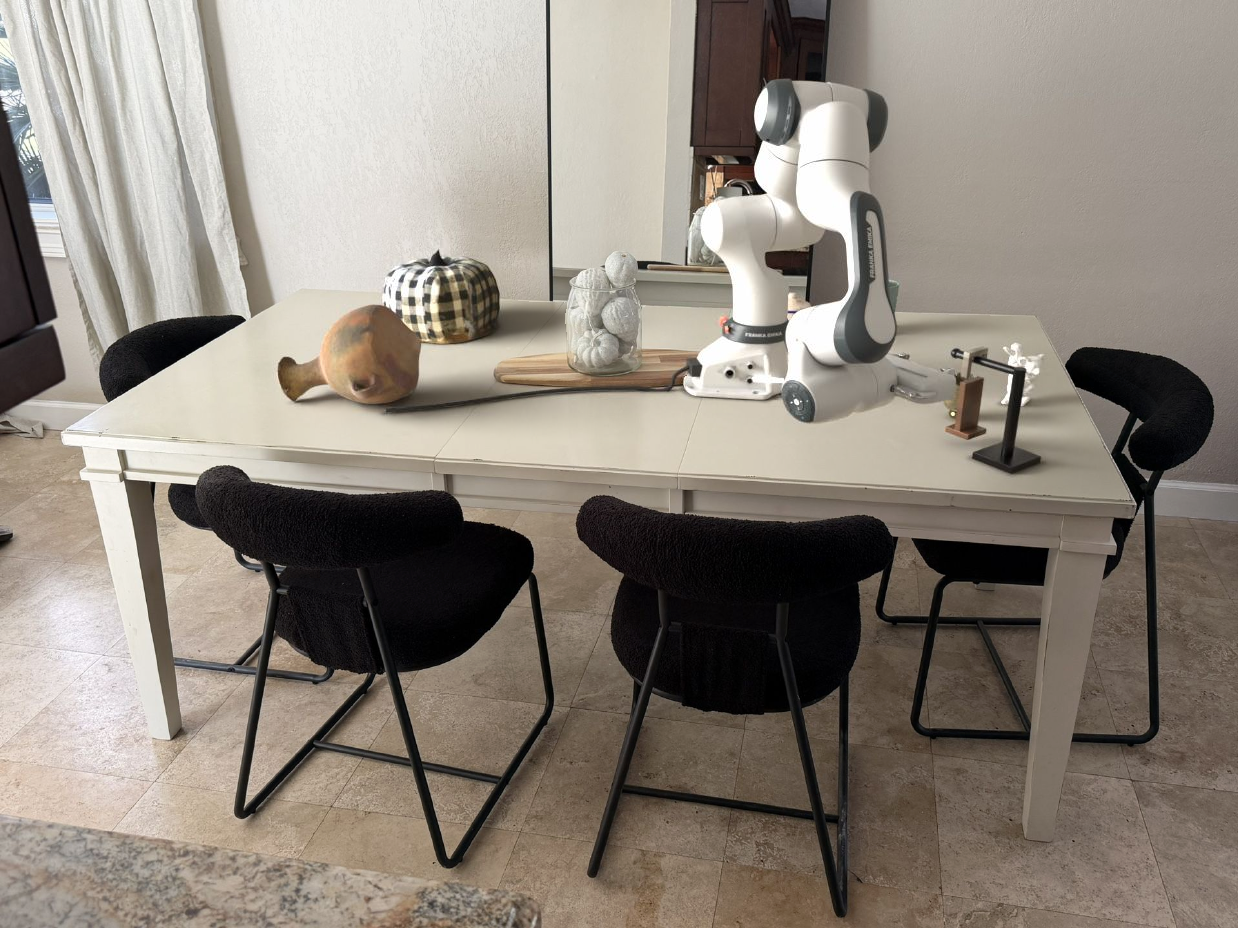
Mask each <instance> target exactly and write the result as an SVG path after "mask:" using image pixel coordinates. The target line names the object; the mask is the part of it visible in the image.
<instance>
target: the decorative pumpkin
mask: <svg viewBox="0 0 1238 928" xmlns="http://www.w3.org/2000/svg"><path fill="white" fill-rule="evenodd" d="M500 294H501V293H500V290H499V286H498V283H497V280H496V277H495V275H494V273H493V271H492V270H491V269H490V267H489V266H488V265H487V264H485V263H483V262H481V261H478V260H476V259H474V258H471V257H468V256H457V257H456V256H455V257H451V256H446V255H441V252H440V248H438V249H437V250H436V251H435V253H433V254H432V255H431V257H427V258H417V259H412V260H410V261H407V262H406V263H402V264H400V265H396V266H394V267H393V268H392V269H391V270H390V271H389V272H388V274H387V276H386V277H385V280H384V284H383V286H382V299H381V303H382V306H386V307H388V308H390V309H391V310H392V311H394V312H395V313H396V314H397V315H398V316H399V318H400V319H401V320H402V322H403V323H404V324H405V325H407V326H408V327H409V328H410V329H411V330H412V331H413V332H415V333H416V334H417V335H418V336H419V338H420V340H421V343H427V344H428V343H429V344H443V345H447V344H459V343H465V342H468V341H472V340H477V339H480V338H483V337H486V336H488V335H491V333H493V332H494V331H495V330H496V329H497V321H498V318H499V315H500V311H501V304H500V303H501V301H500V300H501V299H500V298H501V295H500Z"/></svg>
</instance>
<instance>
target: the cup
mask: <svg viewBox="0 0 1238 928" xmlns="http://www.w3.org/2000/svg"><path fill="white" fill-rule="evenodd" d="M954 376H955V378H956V389H955V394H954V397H953V398H952V399H949V400H946V401H942V402H943V405H944V406H945V408H946V409H948V416H949V417H950V418H951V419H952V420H956V413H957V405H958V397H959V389H960V382H962V381H965V380H969V379H972V378H975V377H978V376H979V374H977V375H976V376H975V377H974V375H973V373H971V374H970V377H969V378H965V377H961V372H960V371H959V372H957V373H955V374H954Z"/></svg>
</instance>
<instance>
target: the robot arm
mask: <svg viewBox="0 0 1238 928" xmlns="http://www.w3.org/2000/svg"><path fill="white" fill-rule="evenodd" d="M754 107H755V108H754V114H753V115H754V124H755V125H754V127H755V132H756V134H757V136H758V137H759V138H760V140H761V141H762V142H761V145H760V148H759V151H758V154H757V157H756V160H755V163H754V178H755V180H756V182H757V184H758V185H759V187H760V188H761V189H762V190H763V191H764V192H765V193H764V194H755V195H741V196H730V197H726V198H722V199H720V200H717V201H713V202H710V203H709V204H708V206H707V207H706V208H705V210H704V211H703V213H702V217H701V220H700V233H701V238H702V240H703V243H705V245H706V246H707V248H708V249H709V250H710V251H711V252H713V254H716V256H718V257H719V258H720V259H721V261H722V262H723V263H724V264H725V266H726V268H727V270H728V272H729V275H730V279H731V285H732V317H730V318H728V317H727V316H726V315H722V316H720V317H719V318H718V319H719V320H718V323H719V326H720V327H721V328H722V329H721V330H722V332H721V333H722V335H721V336H720V337H719V338H717V339H715V341H713V342H712V343H710V344H708V345H707V346H706V347H704V348H703V349H701V350H700V351H699V353H698V354H697V356H696V357H690V358H686V360H685V362H686V363H685V366H683V367H681V368H680V369H678V370H676V371H675V372H674V373H673V374H672V376H671V379H670V384H669V385H668V386H666V387H663V388H653V387H647V386H641V385H595V386H591V385H590V386H574V387H573V386H572V387H560V388H559V387H558V388H549V389H539V390H531V391H521V392H514V393H506V394H500V395H491V396H486V397H479V398H471V399H464V400H455V401H450V402H441V403H431V404H423V405H412V406H411V405H410V406H396V407H385V413H395V412H397V413H398V412H413V411H423V410H433V409H441V408H450V407H456V406H463V405H464V406H466V405H472V404H479V403H485V402H486V403H487V402H492V401H493V402H494V401H500V400H507V399H514V398H521V397H529V396H537V395H539V396H540V395H548V394H559V393H572V392H587V391H588V392H589V391H590V392H592V391H643V392H652V393H653V392H656V393H657V392H669V391H671V390H672V389H673V388H674V386H675V384H676V379H677V378H678V376H680V375H681V374H683V373H684V372H687V373H689V374H687V373H685V375H687V376H685V375H684V376H685V377H683V382H682V383H683V388H684V390H685V391H686V392H687V393H688V394H689V395H692V396H694V397H705V398H722V399H723V398H724V399H739V400H740V399H741V400H742V399H743V400H760V401H761V400H762V401H765V400H768V399H770V398H771V397H773V396H775V395H779V394H781V399H782V403H783V405H784V407H785V409H786V411H787V412H788V414H789V415H791V416H792V417H793V418H794V419H796V420H797V421H799V422H801V423H804V424H808V425H809V424H810V425H818V424H819V425H820V424H824V423H830V422H834V421H838V420H842V419H844V418H848V417H849V416H851V415H852V414H854V413H857V414H858V413H859V414H860V413H865V412H868V411H872V410H875V409H878V408H881V407H885V406H888V405H889V404H890V403H892V401H893V400H895V397H898V398H901V399H903V400H906V401H908V402H911V403H914V404H918V405H929V404H936V403H940V402H943V401H946V400H949V399H952V398H953V397H954V394H955V389H956V378H955V376H954V374H955V375H956V373H955V372H956V370H955V368H952V367H948V366H945V367H941V368H940V370H938V369H936V368H932V367H929V366H926V365H923V364H920V363H917V362H915V361H911V360H910V358H911V357H910V356H911V355H910V354H909V353H906V352H903V351H901V352H897V353H895V352H890V351H891V349H892V347H893V345H894V343H895V340H896V337H897V332H898V329H897V328H898V325H897V318H896V313H895V314H894V310H893V306H892V302H891V297H890V289H889V279H890V278H889V265H888V253H887V252H888V251H887V237H886V227H885V221H884V215H883V214H884V213H883V210H882V207H881V204H880V202H879V201H878V199H877V197H876V196H874V195H873V194H872V193H871V189H870V154H872V153H873V152H874V151H875V150H876V149H877V148H879V147H880V145H881V144H882V141H883V140H884V137H885V134H886V132H887V128H888V122H889V107H888V104H887V101H886V99H885V98H884V96H883V95H882V94H879V93H877V92H875V91H873V90H871V89H867V88H863V89H860V88H857V87H853V86H851V85H850V86H849V85H845V84H841V83H837V82H831V81H827V82H824V81H823V82H822V81H813V80H792V79H791V78H778V79H773V80H772V79H771V80H770V81H769V82H768V83H767V84H765V86H763V87H762V90H761V92H760V94H759V96H758V97H757V100H756V103H755V106H754ZM826 230H827V231H830V232H835V233H839V234H841V236H842V237H843V239H844V242H845V247H846V249H845V250H846V262H847V263H846V264H847V265H846V266H847V278H848V290H847V292H846V294H845V295H844V297H843V298H842V299H841V300H837V301H833V302H829V303H823V304H817V305H814V306H811V307H809V308H805V309H801V310H799V311H797V312H796V313H795V314H794V315H793V316H792V317H791V318H790V320H788V318H787V315H788V297H789V293H790V286H789V282H788V280H787V279H786V277H785V276H784V275H783V274H782V273H780V272H779V271H777V270H776V269H773V268H771V267H769V266H767V264H766V253H767V252H781V251H791V250H792V251H793V250H798V249H801V248H805V247H809V246H811V245H814V244H817V243H818V242H819V241H820V240H821V239H822V238H823V236H824V234H825V232H826Z"/></svg>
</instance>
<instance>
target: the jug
mask: <svg viewBox="0 0 1238 928" xmlns="http://www.w3.org/2000/svg"><path fill="white" fill-rule="evenodd" d="M421 349H422V342H421V340H420V338H419V336H418V335H417V334H416V333H415V332H413V331H412V330H411V329H410V328H409V327H408V326H407V325H405V324H404V323H403V322H402V320H401V319H400V318H399V316H398V315H397V314H396V313H395V312H394V311H392V310H391V309H390V308H388V307H386V306H383V304H368V305H364V306H361V307H359V308H356V309H353V310H351V311H349V312H348V313H346V314H344V315H343V316H342V317H340V318H339V319H338V320H337V321H336V322H334V323H333V324H332V325H331V326H330V328H329V329H328V331H327V332H326V333H325V336H324V337H323V340H322V341H321V345H320V349H319V350H320V351H319V355H318V356H317V357H316V358H314V359H313V360H310V361H308V362H304V363H300V364H299V363H297V361H296V360H295V359H294V358H293V357H290V356H282V357H281V358H280V359H279V361H278V362H277V368H276V369H277V370H276V378H277V381H278V384H279V387H280V389H281V390H282V392H283V394H284V396H286V397H287V398H288V399H289V400H290V401H291V402H294V403H295V402H297V400H298V399H299V398H300V397H302V396H303V395H305V393H307V392H309V390H311V389H312V388H315V387H319V386H329V387H330V388H331V389H332V390H333V391H334V392H335V393H336V394H338V395H339V396H341V397H343V398H345V399H347V400H349V401H352V402H357V403H360V404H369V405H370V404H371V405H379V404H388V403H391V402H395V401H399V400H400V399H402V398H406V397H408V396H409V395H410V394H411V393H413V392H414V391H415V389H417V387H418V383H419V378H420V357H421V356H420V354H421Z"/></svg>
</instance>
